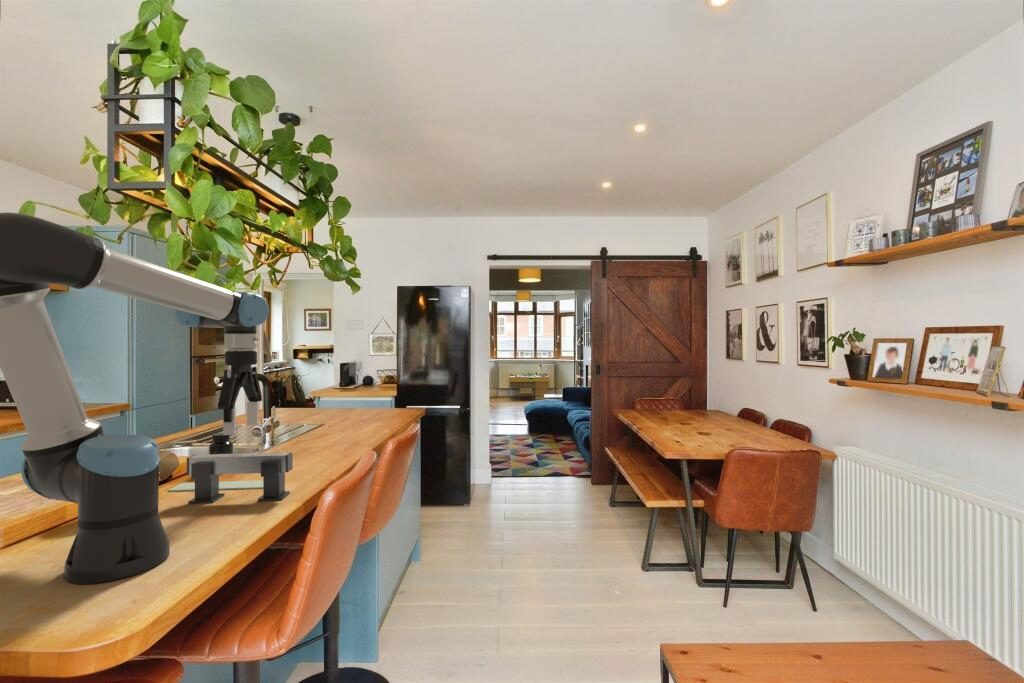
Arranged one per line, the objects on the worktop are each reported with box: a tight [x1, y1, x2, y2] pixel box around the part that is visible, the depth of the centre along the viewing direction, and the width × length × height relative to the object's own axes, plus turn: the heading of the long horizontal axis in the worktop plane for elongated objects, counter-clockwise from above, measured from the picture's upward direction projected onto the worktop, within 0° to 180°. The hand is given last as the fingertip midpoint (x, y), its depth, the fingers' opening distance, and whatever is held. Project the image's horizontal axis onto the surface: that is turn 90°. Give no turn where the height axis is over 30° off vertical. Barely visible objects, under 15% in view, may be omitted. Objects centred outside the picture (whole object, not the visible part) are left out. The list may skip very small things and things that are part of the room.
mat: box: [167, 479, 263, 493], centre depth 139 cm, size 7×28×1 cm, turn 96°
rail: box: [186, 451, 294, 476], centre depth 128 cm, size 4×25×4 cm, turn 96°
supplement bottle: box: [208, 432, 234, 454], centre depth 155 cm, size 7×7×12 cm
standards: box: [188, 461, 291, 504], centre depth 128 cm, size 6×23×10 cm, turn 96°
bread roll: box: [159, 452, 180, 482], centre depth 146 cm, size 10×15×8 cm, turn 19°
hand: (241, 429), depth 128 cm, fingers open, 13 cm apart
